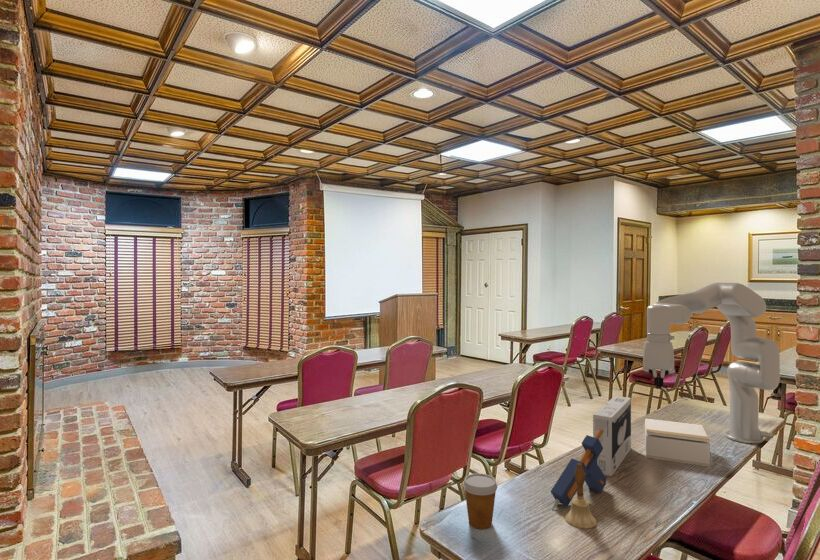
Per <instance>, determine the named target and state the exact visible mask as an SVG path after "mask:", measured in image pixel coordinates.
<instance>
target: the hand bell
mask: <svg viewBox="0 0 820 560" xmlns="http://www.w3.org/2000/svg"><path fill="white" fill-rule="evenodd" d="M575 480H576V483H577V492H576V497H575V498H574V497H573V498H572V500H571V501H572V502H571V507H570V510H569V511H568V512H567V513H566V514H565V516H564V519H565V521H566V523H568V525H570V526H572V527H574V528H579V529H585V530H586V529H592V528H594V527H597V525H598V523H597V519H596V518H595V517H594V515H593V513H592V512H591V507H590V502H589V501H588V500H587V499H586V498H585V497H584V485H585V481H584V480H585V473H584V469H583V467H582V464H581V463H577V466H576V469H575Z"/></svg>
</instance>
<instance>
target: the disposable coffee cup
mask: <svg viewBox="0 0 820 560" xmlns="http://www.w3.org/2000/svg"><path fill="white" fill-rule="evenodd" d="M462 487H463V489H464V494H465V501H466V509H467V516H468V523H469V525H470V526H471V528H474V529H478V530H486V529H490V528H491V527H492V524H493V516H494V508H495V501H496V494H497V493H496V492H497V489H498V488H499V487H498V483H497V481H496V478H495V477H493V475H489V474H486V473H480V472H477V473H471V474H468V475H466V476H465V477H464V480H463V482H462Z"/></svg>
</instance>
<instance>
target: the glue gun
mask: <svg viewBox="0 0 820 560" xmlns="http://www.w3.org/2000/svg"><path fill="white" fill-rule="evenodd" d="M603 432H604V431H603V430H602V429H599V431H598V432H597V434H596V436H595V437H593V436H590V435H588V434H586V435H585V436H584V439H583V441H582V442H581V446H582V447H583V449H584V451H585V452H584V453H583V455H582V456H581V457H580V459H575V458H570V461H569V462H567V465H566V466H565V469H564V470H563V472H562V473H561V475H559V477H558V479H557V480H556V481H555V484H554V485H553V487H552V488H551V490H550V493H551V495H552V497H553V498H554V503H553V506H552V508H551V511H553V510H554V509H555V508H556V507H557V506H558V505H559V504H561V505H563V506H565V507H568V506H569V504H570V502H571V501H572V500H573V499H574V496H575V495H576V494H577V483H576V480H575V469H576V466H577V463H581V464H582V467H583V469H584V473H585V480H584V483H585V484H586V486H587V487H588V489H590V490H592V491H595V492H597V493H600V494H601V493H602V492H603V490H604V488H605V487H606V485H607V477H606V475H604V474H603V472H602V471H601V469H600V468H599V466H598V464H597V459H598V457H599V455H600V453H601V451H602V450H603V447H602V445H601V443H600V441H599V438H600V437H601V435H602V434H603Z"/></svg>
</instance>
